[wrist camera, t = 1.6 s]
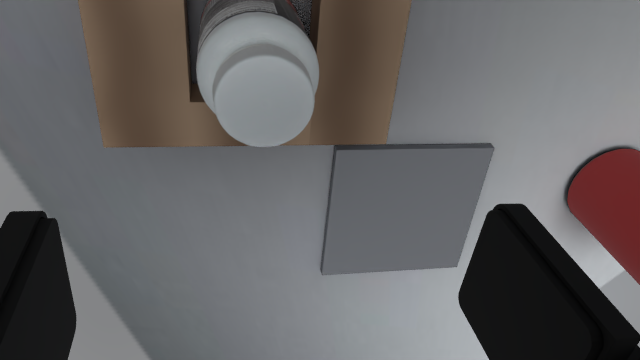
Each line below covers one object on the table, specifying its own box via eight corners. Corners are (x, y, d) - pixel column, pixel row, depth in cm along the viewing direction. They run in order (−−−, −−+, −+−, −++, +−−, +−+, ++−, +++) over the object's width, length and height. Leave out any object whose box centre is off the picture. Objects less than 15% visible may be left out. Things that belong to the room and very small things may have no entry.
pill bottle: (309, 58, 29) (344, 142, 21) (220, 85, 29) (222, 179, 21) (283, -38, 26) (313, 19, 18) (184, -8, 26) (170, 61, 18)
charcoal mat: (490, 143, 35) (494, 147, 34) (453, 261, 41) (456, 266, 40) (334, 145, 33) (336, 150, 32) (320, 269, 39) (321, 275, 38)
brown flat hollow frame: (408, -85, 26) (425, -78, 24) (375, 124, 32) (385, 144, 30) (73, -110, 23) (59, -105, 21) (111, 125, 30) (103, 147, 27)
